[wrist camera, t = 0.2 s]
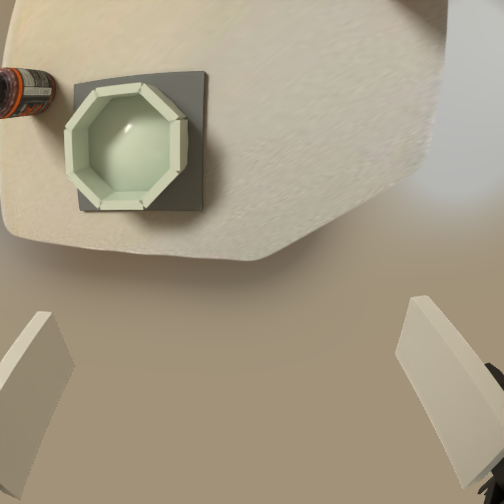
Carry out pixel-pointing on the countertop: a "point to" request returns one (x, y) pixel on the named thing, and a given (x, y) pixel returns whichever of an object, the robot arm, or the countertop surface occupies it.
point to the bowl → (125, 146)
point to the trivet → (192, 105)
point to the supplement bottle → (24, 92)
